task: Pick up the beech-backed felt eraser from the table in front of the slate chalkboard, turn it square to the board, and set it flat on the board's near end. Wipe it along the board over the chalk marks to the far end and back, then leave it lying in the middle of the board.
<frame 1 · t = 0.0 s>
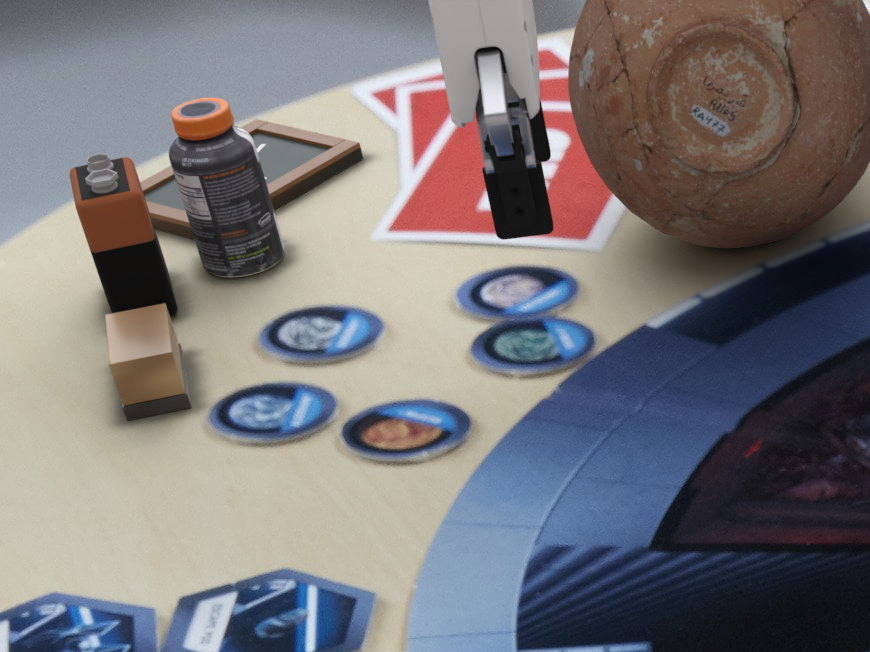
hand: (525, 197, 137), 17 cm above the table, tool pointing down, fingers open, 9 cm apart
jug: (722, 105, 155), point 13 cm above the table
pill bottle: (245, 263, 173), on the table
battery: (145, 306, 169), on the table
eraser: (156, 388, 159), on the table
board: (238, 187, 182), on the table
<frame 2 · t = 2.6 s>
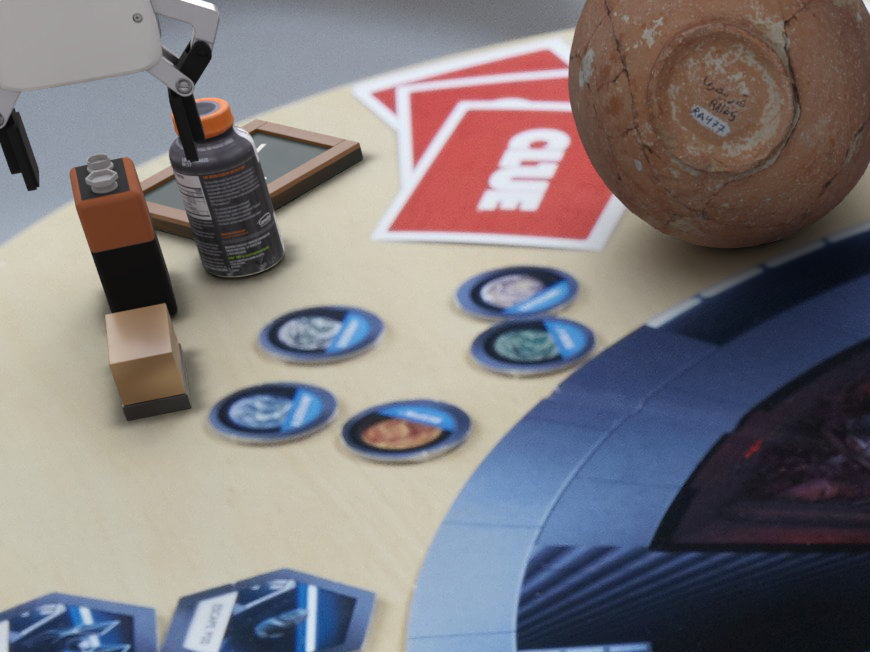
hand: (113, 167, 148), 16 cm above the table, tool pointing down, fingers open, 9 cm apart
nothing on the table moved.
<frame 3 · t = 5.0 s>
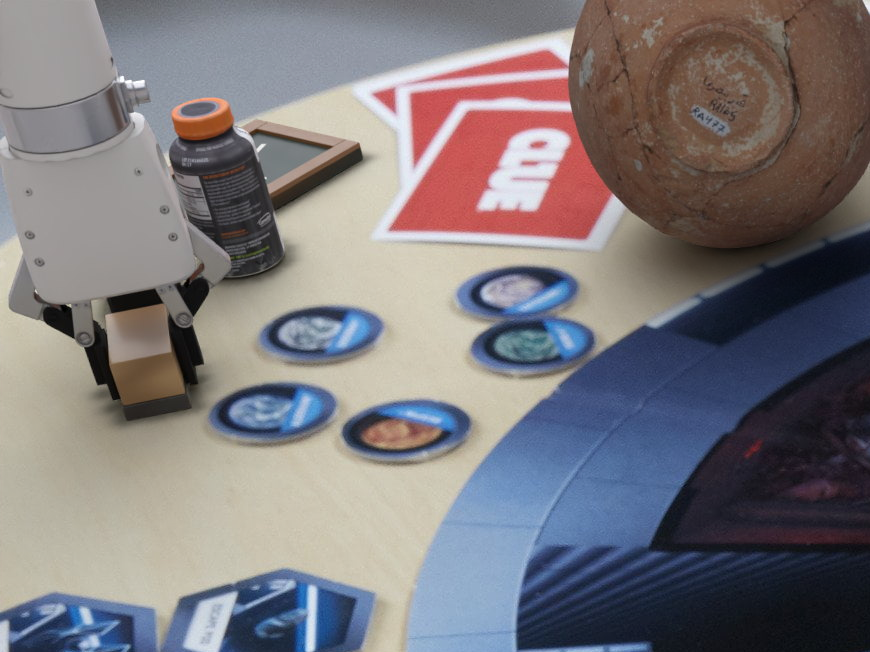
hand: (153, 380, 159), 1 cm above the table, tool pointing down, fingers closed on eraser, 4 cm apart
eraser: (156, 388, 159), on the table, touching gripper
everything else where it was.
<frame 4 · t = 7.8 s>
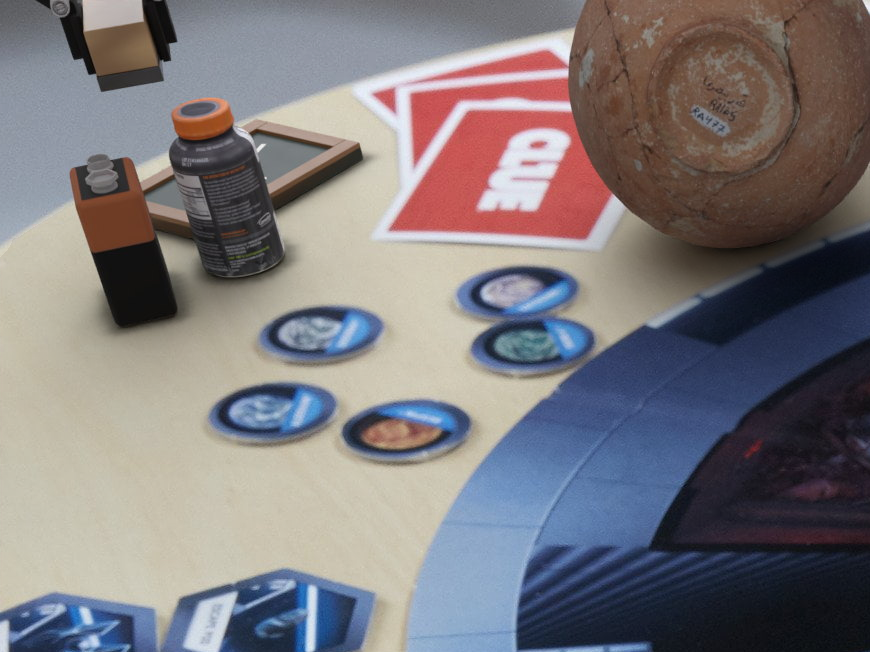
hand: (128, 58, 164), 15 cm above the table, tool pointing down, fingers closed on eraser, 4 cm apart
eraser: (131, 66, 164), point 14 cm above the table, touching gripper
everything else where it was.
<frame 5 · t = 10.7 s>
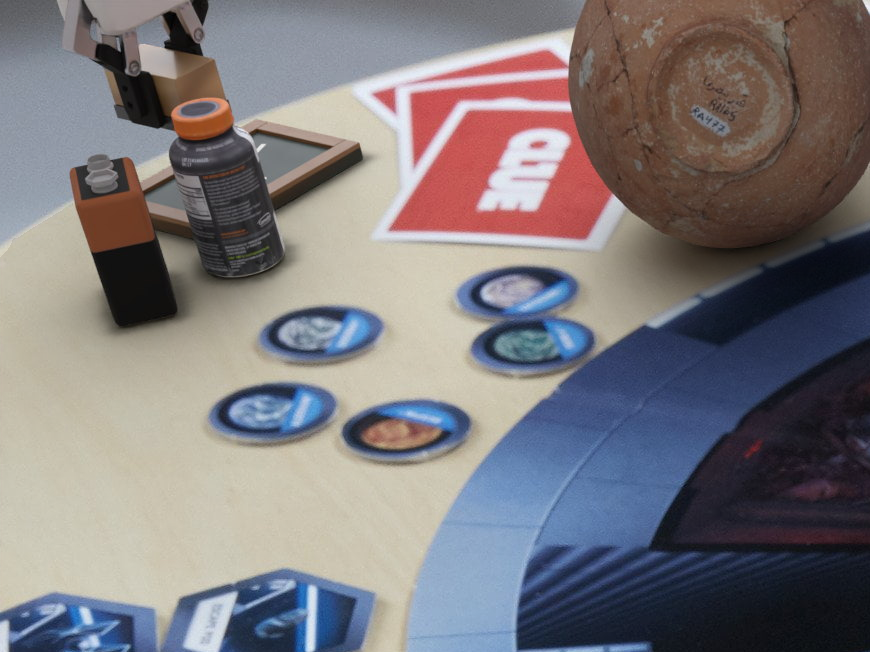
hand: (172, 108, 174), 8 cm above the table, tool pointing down, fingers closed on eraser, 4 cm apart
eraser: (174, 115, 175), point 7 cm above the table, touching gripper
everything else where it was.
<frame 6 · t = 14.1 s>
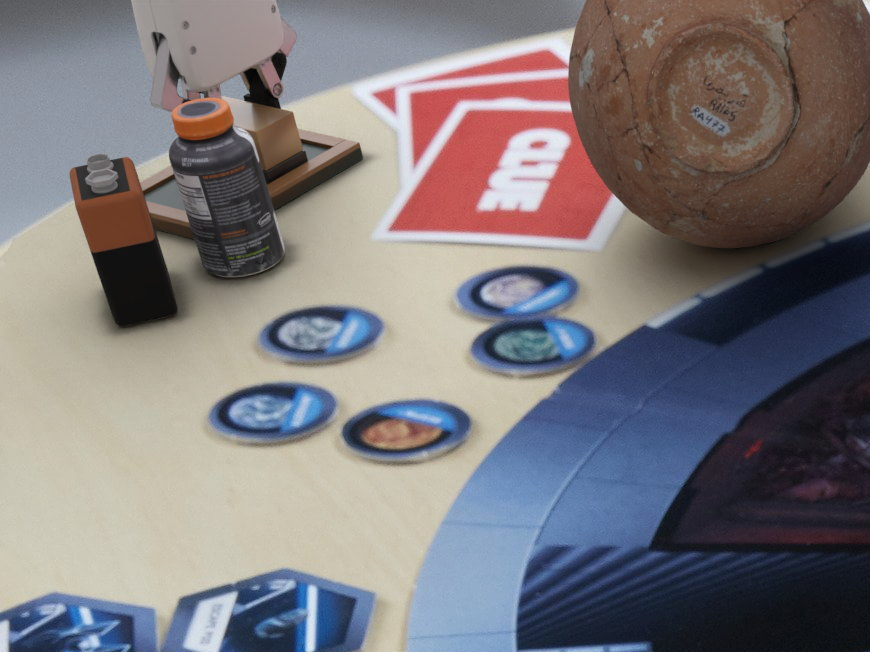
hand: (251, 159, 182), 1 cm above the table, tool pointing down, fingers closed on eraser, 4 cm apart
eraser: (253, 164, 182), point 1 cm above the table, touching board, gripper
everything else where it was.
when the fingers open (1 cm above the table, at t = 16.5 s): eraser stays where it is, resting on board.
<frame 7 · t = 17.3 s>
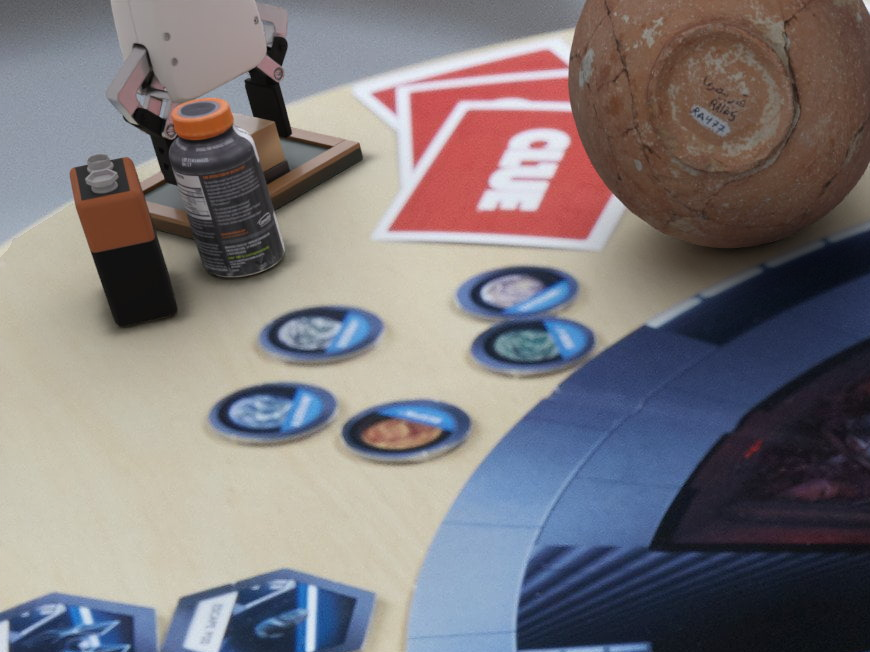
hand: (230, 158, 180), 2 cm above the table, tool pointing down, fingers open, 9 cm apart
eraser: (235, 175, 181), point 1 cm above the table, touching board
everything else where it was.
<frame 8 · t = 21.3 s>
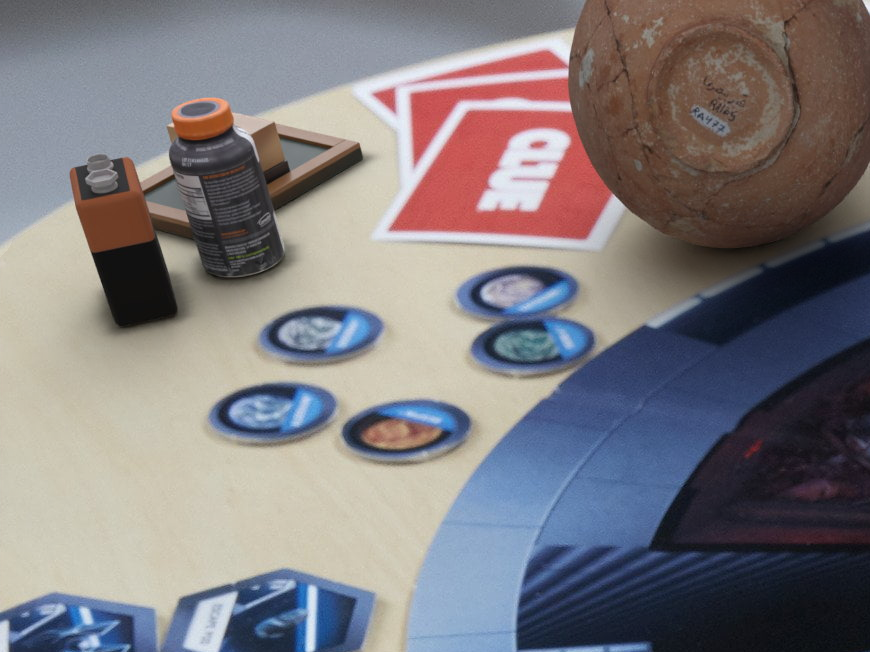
nothing on the table moved.
at the end: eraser 0.0 cm off-centre on the board, point 1.0 cm above the board's base; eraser tilted 0°; the gripper is holding nothing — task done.
